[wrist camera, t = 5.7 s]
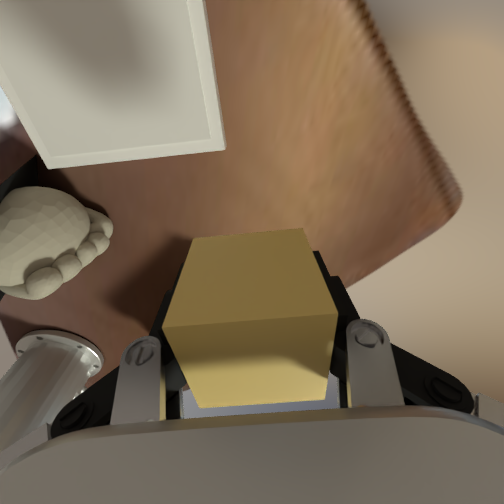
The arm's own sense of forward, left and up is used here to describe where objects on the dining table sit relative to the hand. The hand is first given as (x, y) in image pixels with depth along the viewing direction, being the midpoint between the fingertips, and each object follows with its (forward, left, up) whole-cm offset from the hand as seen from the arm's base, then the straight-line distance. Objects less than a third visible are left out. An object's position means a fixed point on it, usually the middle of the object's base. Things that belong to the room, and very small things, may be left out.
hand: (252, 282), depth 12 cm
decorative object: (-1, +19, -16) cm, 24 cm away
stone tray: (+12, +10, -15) cm, 22 cm away
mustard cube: (0, 0, -1) cm, 1 cm away
